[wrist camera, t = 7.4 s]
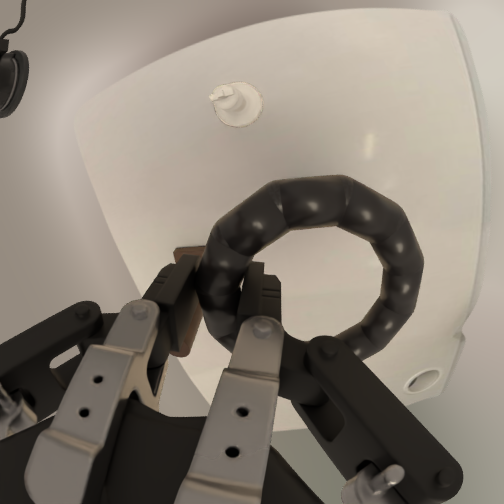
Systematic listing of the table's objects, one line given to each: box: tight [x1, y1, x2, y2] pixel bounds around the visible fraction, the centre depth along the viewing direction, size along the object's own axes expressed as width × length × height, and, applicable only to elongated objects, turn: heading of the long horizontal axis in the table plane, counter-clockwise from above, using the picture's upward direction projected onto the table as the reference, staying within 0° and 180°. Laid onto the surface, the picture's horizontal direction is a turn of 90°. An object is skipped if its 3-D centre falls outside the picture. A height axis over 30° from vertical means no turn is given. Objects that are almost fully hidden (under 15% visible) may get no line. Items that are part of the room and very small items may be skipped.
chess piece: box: [209, 82, 263, 127], centre depth 20 cm, size 5×5×10 cm
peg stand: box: [170, 246, 206, 357], centre depth 28 cm, size 7×7×13 cm
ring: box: [194, 175, 424, 361], centre depth 11 cm, size 10×10×2 cm
